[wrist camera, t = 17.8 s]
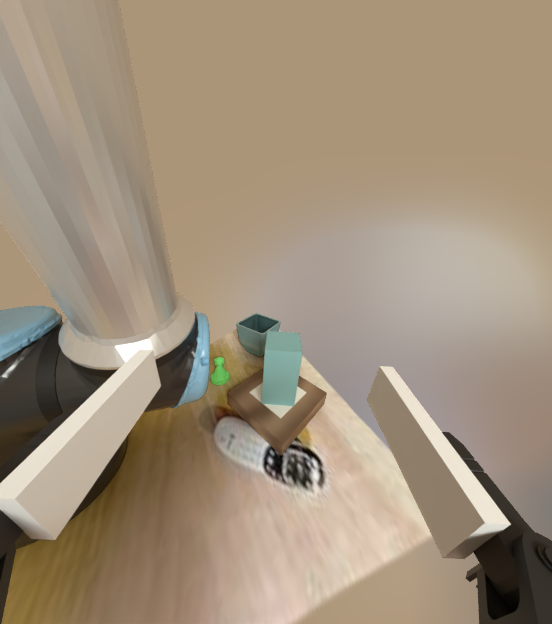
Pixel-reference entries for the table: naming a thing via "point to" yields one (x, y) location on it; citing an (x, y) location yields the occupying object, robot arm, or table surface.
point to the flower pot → (256, 332)
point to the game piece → (219, 372)
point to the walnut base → (276, 410)
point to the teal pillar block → (281, 368)
